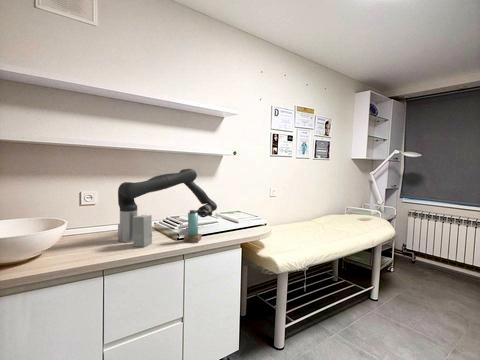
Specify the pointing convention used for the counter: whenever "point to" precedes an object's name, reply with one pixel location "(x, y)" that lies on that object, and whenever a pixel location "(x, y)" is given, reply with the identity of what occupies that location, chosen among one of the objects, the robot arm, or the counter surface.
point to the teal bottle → (192, 223)
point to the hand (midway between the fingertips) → (198, 214)
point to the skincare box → (142, 230)
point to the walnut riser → (192, 238)
